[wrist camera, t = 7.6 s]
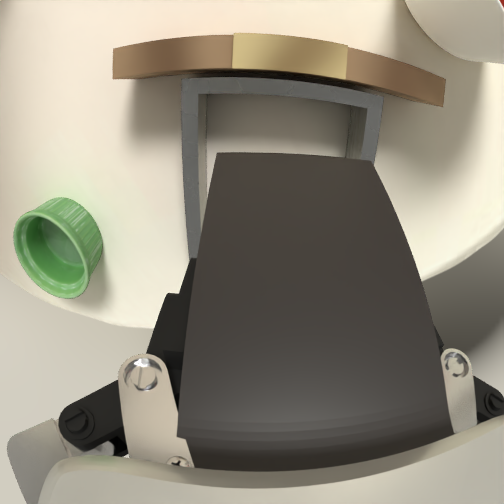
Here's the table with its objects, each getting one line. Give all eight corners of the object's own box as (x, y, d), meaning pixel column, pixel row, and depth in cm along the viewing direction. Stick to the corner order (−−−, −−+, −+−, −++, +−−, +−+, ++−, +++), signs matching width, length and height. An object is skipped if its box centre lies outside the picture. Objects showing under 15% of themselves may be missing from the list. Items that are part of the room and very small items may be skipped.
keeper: (198, 263, 24) (192, 285, 21) (192, 80, 16) (181, 78, 13) (334, 268, 24) (342, 290, 22) (366, 94, 16) (383, 96, 13)
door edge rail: (138, 79, 15) (110, 79, 12) (138, 53, 14) (110, 47, 11) (412, 101, 16) (445, 108, 12) (415, 76, 15) (448, 78, 11)
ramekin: (91, 285, 26) (73, 313, 22) (31, 237, 23) (8, 260, 19) (123, 229, 22) (102, 258, 19) (51, 172, 19) (21, 192, 15)
